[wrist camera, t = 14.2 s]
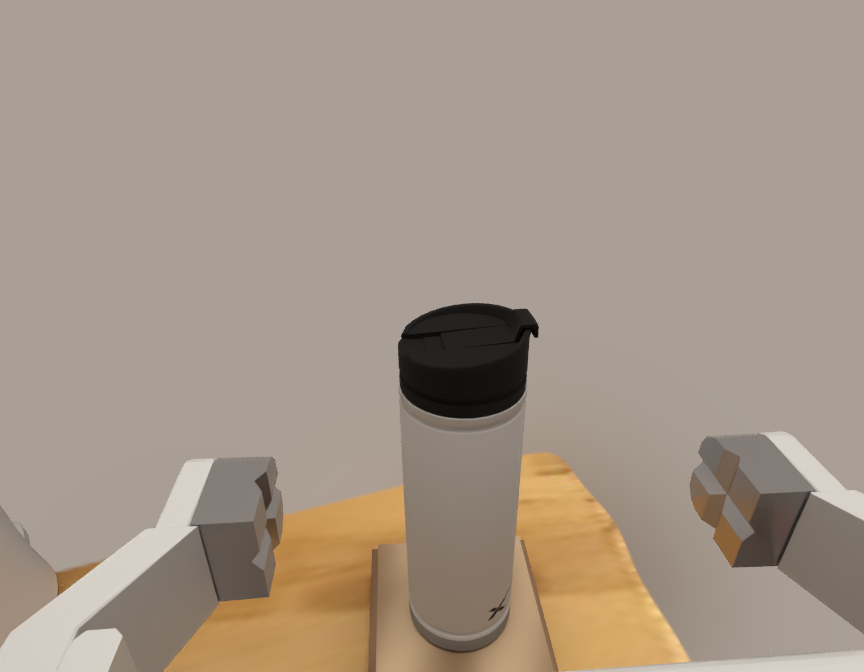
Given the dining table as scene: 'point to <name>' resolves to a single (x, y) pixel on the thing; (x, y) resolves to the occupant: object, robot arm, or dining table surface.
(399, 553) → the plinth
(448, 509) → the travel mug
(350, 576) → the dining table surface
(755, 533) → the robot arm
